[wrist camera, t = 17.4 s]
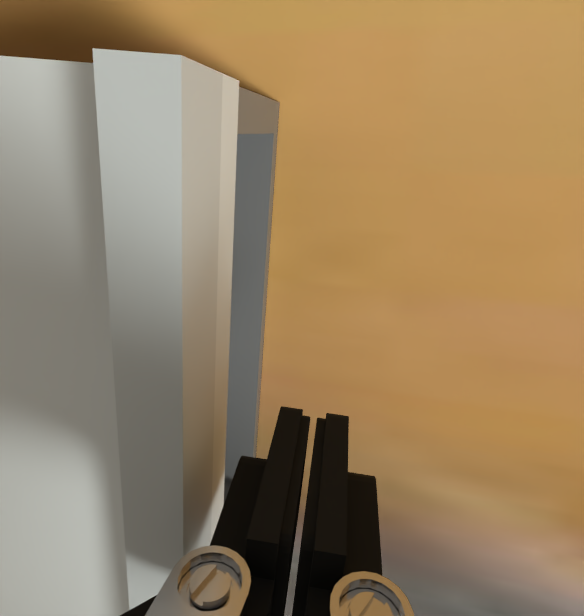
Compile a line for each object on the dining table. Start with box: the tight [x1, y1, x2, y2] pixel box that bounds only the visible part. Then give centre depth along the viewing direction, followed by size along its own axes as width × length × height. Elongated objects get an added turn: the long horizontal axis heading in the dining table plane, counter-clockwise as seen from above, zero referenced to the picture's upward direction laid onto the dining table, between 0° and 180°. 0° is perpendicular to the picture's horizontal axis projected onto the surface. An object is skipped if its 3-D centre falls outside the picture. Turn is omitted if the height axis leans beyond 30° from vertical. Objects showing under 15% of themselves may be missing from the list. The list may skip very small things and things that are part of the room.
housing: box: [224, 87, 280, 503], centre depth 16 cm, size 15×17×7 cm
